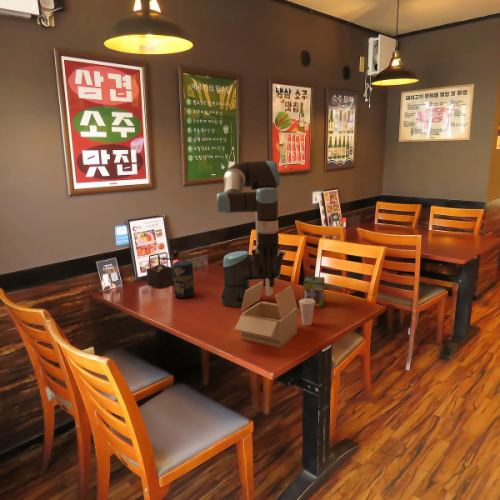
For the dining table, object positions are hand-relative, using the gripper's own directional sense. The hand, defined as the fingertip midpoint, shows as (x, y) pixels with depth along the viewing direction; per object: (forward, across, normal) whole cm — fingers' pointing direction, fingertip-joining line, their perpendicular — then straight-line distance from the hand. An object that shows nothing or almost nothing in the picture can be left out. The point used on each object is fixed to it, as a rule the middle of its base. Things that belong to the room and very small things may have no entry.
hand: (269, 294), depth 156 cm
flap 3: (+1, +7, 0) cm, 7 cm away
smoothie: (+17, +8, +17) cm, 25 cm away
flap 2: (+8, 0, -11) cm, 13 cm away
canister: (+17, -59, +23) cm, 66 cm away
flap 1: (+1, -7, 0) cm, 7 cm away
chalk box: (+17, +2, +40) cm, 43 cm away
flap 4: (+8, 0, +11) cm, 13 cm away
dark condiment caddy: (+17, -81, +34) cm, 90 cm away
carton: (+16, 0, 0) cm, 16 cm away
